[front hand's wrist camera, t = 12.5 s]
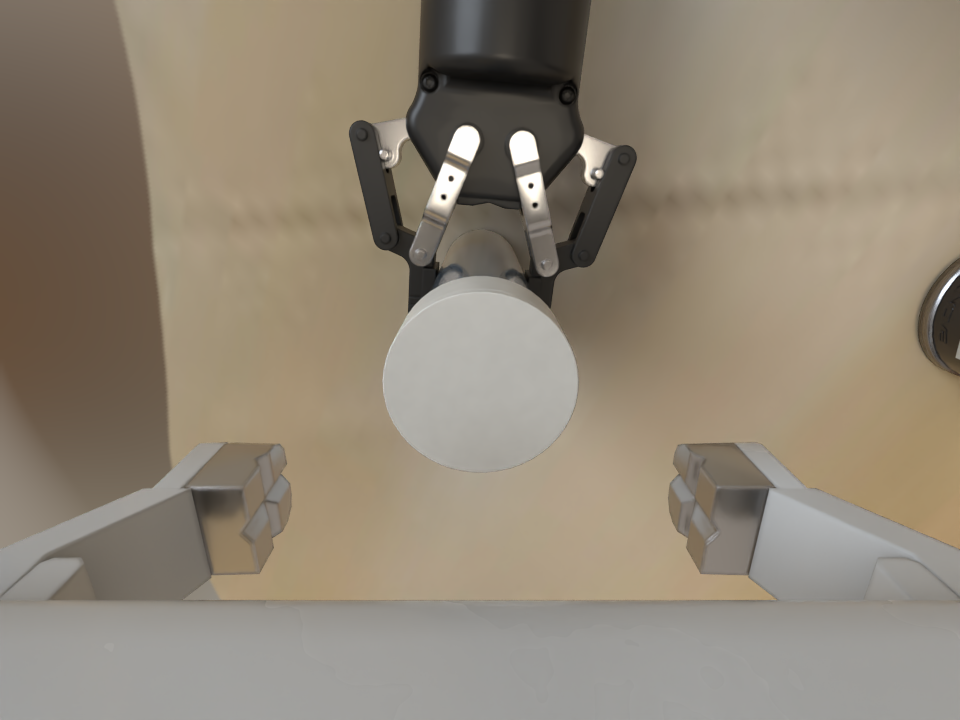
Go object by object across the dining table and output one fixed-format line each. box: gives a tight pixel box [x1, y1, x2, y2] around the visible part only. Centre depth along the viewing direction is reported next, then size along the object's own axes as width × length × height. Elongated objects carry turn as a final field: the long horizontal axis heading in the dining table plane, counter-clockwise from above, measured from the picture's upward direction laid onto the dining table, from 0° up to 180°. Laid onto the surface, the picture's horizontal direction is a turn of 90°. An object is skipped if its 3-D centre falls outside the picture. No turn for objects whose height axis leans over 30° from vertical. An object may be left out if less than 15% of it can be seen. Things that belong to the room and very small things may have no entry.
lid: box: [383, 276, 579, 472], centre depth 16 cm, size 6×6×2 cm
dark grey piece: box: [431, 229, 531, 291], centre depth 24 cm, size 5×5×20 cm
